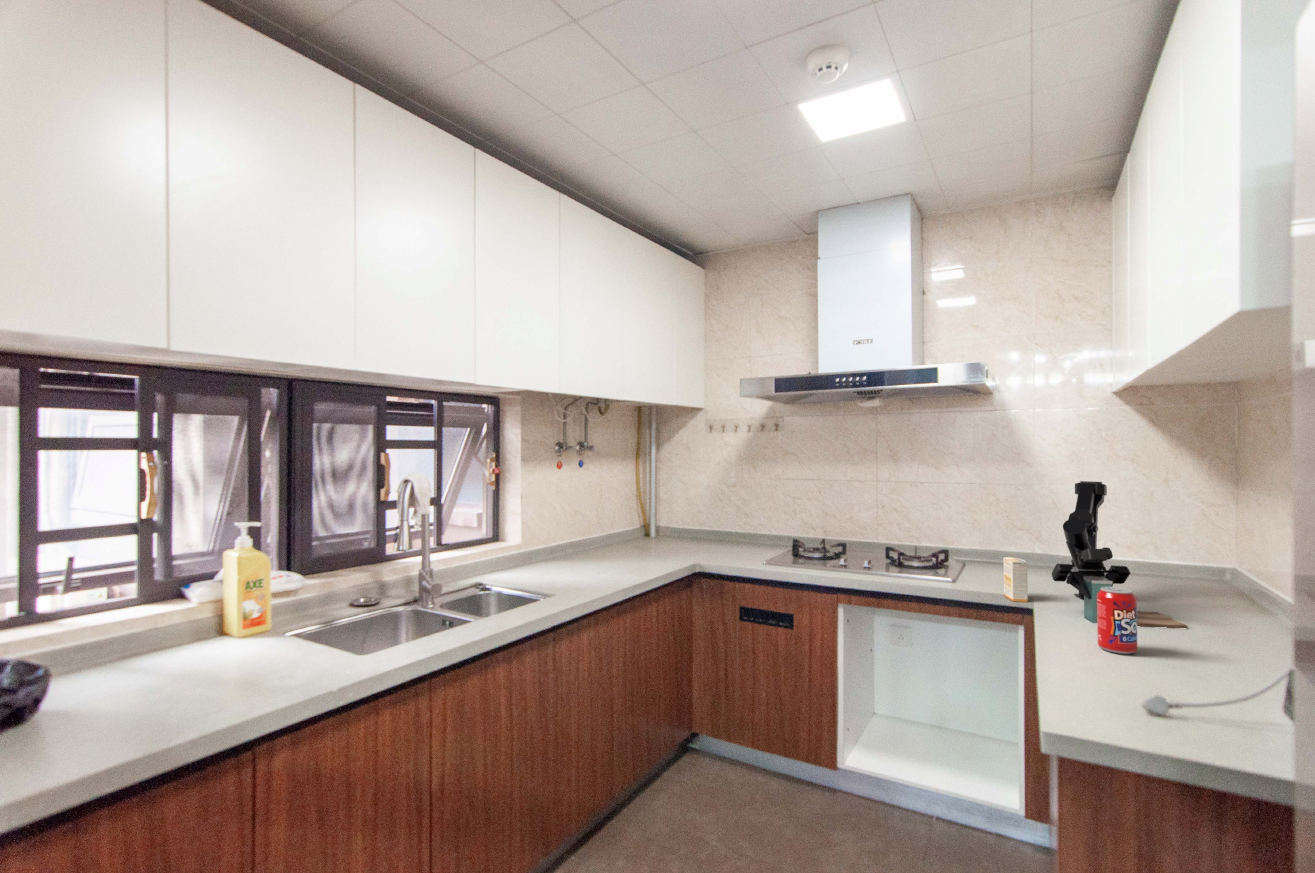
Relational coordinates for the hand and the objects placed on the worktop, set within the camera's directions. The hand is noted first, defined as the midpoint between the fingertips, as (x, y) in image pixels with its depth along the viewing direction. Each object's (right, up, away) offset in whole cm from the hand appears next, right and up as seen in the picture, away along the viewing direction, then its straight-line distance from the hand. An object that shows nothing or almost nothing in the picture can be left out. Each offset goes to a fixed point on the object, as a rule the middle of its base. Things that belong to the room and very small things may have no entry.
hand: (1100, 598), depth 176 cm
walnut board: (+14, -7, +2) cm, 15 cm away
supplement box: (-9, -7, +27) cm, 29 cm away
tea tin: (0, -7, +1) cm, 7 cm away
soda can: (-13, -7, -24) cm, 29 cm away
